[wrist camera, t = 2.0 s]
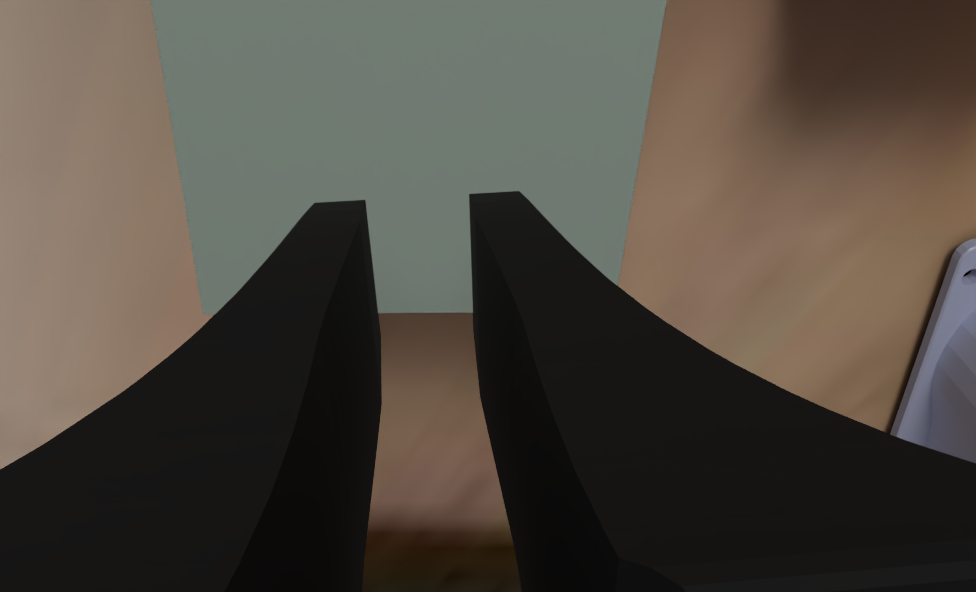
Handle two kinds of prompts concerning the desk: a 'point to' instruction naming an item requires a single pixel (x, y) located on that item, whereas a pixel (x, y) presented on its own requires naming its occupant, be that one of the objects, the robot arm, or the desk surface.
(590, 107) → the sage block
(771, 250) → the desk surface
